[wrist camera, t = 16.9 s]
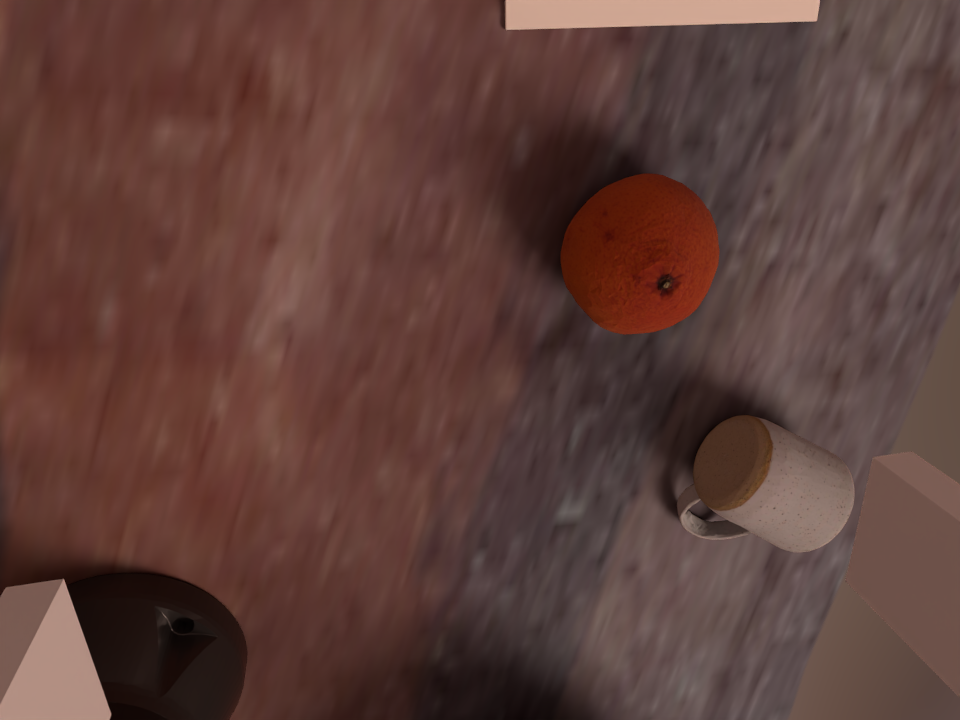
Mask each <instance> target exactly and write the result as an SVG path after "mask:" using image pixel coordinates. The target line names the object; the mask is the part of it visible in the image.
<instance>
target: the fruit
mask: <svg viewBox="0 0 960 720" xmlns="http://www.w3.org/2000/svg"><path fill="white" fill-rule="evenodd" d="M718 261H719V245H718V235H717V229H716V226H715V223H714V221H713V218H712V215H711V213H710V211H709V210H708V209H707V208H706V206H705V204H704V203H703V202H702V200H701V199H700V198H699V197H698V196H697V195H696V194H695V193H694V192H693V191H692V190H690V189H689V188H687V187H686V186H685V185H683V184H682V183H680V182H677V181H675V180H673V179H670V178H668V177H666V176H663V175H658V174H639V175H635V176H631V177H627V178H624V179H622V180H619V181H617V182H614V183H612V184H610V185H608V186H606V187H604V188H603V189H601V190H600V191H599V192H597V193H596V194H595V195H594V196H593V197H591V198H590V199H589V200H588V201H587V202H586V203H585V204H584V205H583V206H582V208H581V209H580V210H579V211H578V212H577V214H576V215H575V216H574V218H573V219H572V221H571V223H570V224H569V225H568V228H567V230H566V233H565V236H564V240H563V244H562V248H561V267H562V274H563V278H564V282H565V284H566V287H567V289H568V290H569V291H570V293H571V294H572V296H573V297H574V299H575V301H576V302H577V304H578V305H579V306H580V307H581V308H582V309H583V310H584V312H585V313H586V314H587V315H588V316H589V317H590V318H591V319H592V320H593V321H594V322H595V323H596V324H598V325H599V326H600V327H602V328H604V329H606V330H609V331H611V332H615V333H619V334H638V333H649V332H655V331H659V330H662V329H665V328H667V327H670V326H672V325H674V324H676V323H678V322H680V321H681V320H683V319H685V318H686V317H688V316H689V315H690V314H691V313H693V312H694V311H695V310H696V309H697V308H698V306H699V305H700V304H701V302H702V300H703V299H704V297H705V296H706V294H707V292H708V290H709V288H710V285H711V283H712V280H713V278H714V275H715V272H716V270H717V266H718Z"/></svg>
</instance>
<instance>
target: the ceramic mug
mask: <svg viewBox="0 0 960 720" xmlns="http://www.w3.org/2000/svg"><path fill="white" fill-rule="evenodd" d="M693 479H694V484H692V485H691V486H689V487H688V488H686V489H685V491H684V492H683V493H682V494H681V496H679V498H678V501H677V510H678V515H679V520H680V522H681V525H682V526H683V527H684V528H685V529H686V530H687V531H688V532H690V533H691V534H693V535H695V536H698V537H701V538H705V539H713V540H723V539H731V538H735V537H740V536H744V535H747V534H749V533H751V532H752V533H753V534H755V535H757V536H759V537H761V538H763V539H764V540H766V541H768V542H769V543H771V544H773V545H775V546H777V547H779V548H781V549H784V550H787V551H791V552H807V551H811V550H814V549H817V548H819V547H822V546H823V545H825V544H827V543H828V542H830V541H831V540H832V539H833V538H834V537H835V536H836V535H837V534H838V533H839V532H840V531H841V529H842V528H843V526H844V525H845V523H846V522H847V520H848V517H849V515H850V513H851V510H852V507H853V503H854V484H853V479H852V476H851V473H850V471H849V469H848V467H847V466H846V465H845V463H844V462H843V461H842V460H841V459H840V458H839V457H837V456H836V455H835V454H833V453H831V452H829V451H827V450H825V449H823V448H821V447H819V446H817V445H815V444H813V443H811V442H809V441H808V440H806V439H804V438H802V437H800V436H798V435H795V434H793V433H791V432H789V431H787V430H786V429H784V428H782V427H780V426H778V425H776V424H774V423H772V422H770V421H768V420H765V419H761V418H758V417H754V416H750V415H740V416H734V417H732V418H729V419H727V420H725V421H723V422H721V423H720V424H718V425H717V426H716V427H715V428H714V429H713V430H712V431H711V432H710V433H709V434H708V435H707V436H706V438H705V439H704V441H703V442H702V444H701V446H700V448H699V449H698V452H697V455H696V458H695V461H694V468H693ZM700 500H702V501H703V502H704V503H705V505H706V506H707V507H709V508H710V509H711V510H712V511H714V512H715V513H717V514H718V515H719V516H721V517H723V518H725V519H726V520H725V521H714V522H709V521H704V520H701V519H700V518H698V517H696V516H695V515H693V514H691V512H690V511H689V510H688V509H689V508H690V507H691V506H692V505H693V504H695V503H697V502H698V501H700Z"/></svg>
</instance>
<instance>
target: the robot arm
mask: <svg viewBox="0 0 960 720" xmlns="http://www.w3.org/2000/svg"><path fill="white" fill-rule="evenodd" d="M846 582H847V583H848V584H849V585H850V586H851V587H852V588H853V589H854V590H855V592H857V594H858V595H860V597H861V598H862V599H863V600H864V601H865V602H866V603H867V604H868V605H869V606H870V607H871V608H872V609H873V610H874V611H875V612H876V613H877V614H878V615H879V616H880V617H881V618H882V619H883V620H884V621H885V622H886V623H887V624H888V625H889V626H890V627H891V628H892V629H893V630H894V631H895V632H896V633H897V634H898V635H899V636H900V637H901V638H902V639H903V640H904V641H905V643H906V644H907V645H908V646H909V647H910V648H911V649H912V650H913V651H914V652H915V653H916V654H917V655H918V656H919V657H920V658H921V659H922V660H923V661H924V662H925V663H926V664H927V665H928V666H929V667H930V668H931V669H932V670H933V671H934V672H935V673H936V674H937V675H938V676H939V677H940V678H941V679H942V680H943V681H944V682H945V683H946V684H947V685H948V686H949V687H950V688H951V689H952V690H953V691H954V692H955V693H956V695H958V697H959V698H960V484H958V483H957V482H956V481H954V480H953V479H951V478H950V477H948V476H947V475H945V474H944V473H943V472H941V471H940V470H938V469H937V468H935V467H934V466H932V465H931V464H929V463H928V462H926V461H925V460H923V459H922V458H921V457H919V456H918V455H916V454H915V453H913V452H912V451H911V452H904V453H898V454H891V455H884V456H878V457H873V459H872V464H871V468H870V473H869V477H868V482H867V486H866V491H865V496H864V500H863V505H862V509H861V514H860V518H859V523H858V527H857V532H856V536H855V541H854V545H853V550H852V554H851V559H850V563H849V568H848V572H847V577H846ZM246 664H247V646H246V641H245V637H244V635H243V632H242V630H241V628H240V626H239V624H238V622H237V621H236V619H235V618H234V617H233V615H232V614H231V613H230V612H229V611H228V610H227V609H226V608H225V607H224V606H223V605H222V604H221V603H220V602H219V601H217V600H216V599H215V598H213V597H212V596H210V595H209V594H207V593H205V592H204V591H202V590H200V589H198V588H196V587H194V586H192V585H189V584H187V583H184V582H181V581H178V580H175V579H171V578H167V577H162V576H157V575H149V574H137V573H123V574H110V575H103V576H97V577H93V578H89V579H85V580H82V581H79V582H76V583H73V584H70V585H68V586H66V584H65V581H64V579H59V580H52V581H45V582H39V583H32V584H25V585H19V586H12V587H6V588H5V590H4V591H3V593H2V595H1V596H0V720H229V719H230V717H231V715H232V713H233V712H234V710H235V708H236V706H237V704H238V701H239V699H240V696H241V693H242V689H243V684H244V678H245V671H246Z"/></svg>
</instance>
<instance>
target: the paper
mask: <svg viewBox="0 0 960 720" xmlns="http://www.w3.org/2000/svg"><path fill="white" fill-rule="evenodd" d="M819 4H820V0H505V30H519V29H555V28H591V27H627V26H663V25H699V24H735V23H771V22H807V21H817V17H818V10H819Z"/></svg>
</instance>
